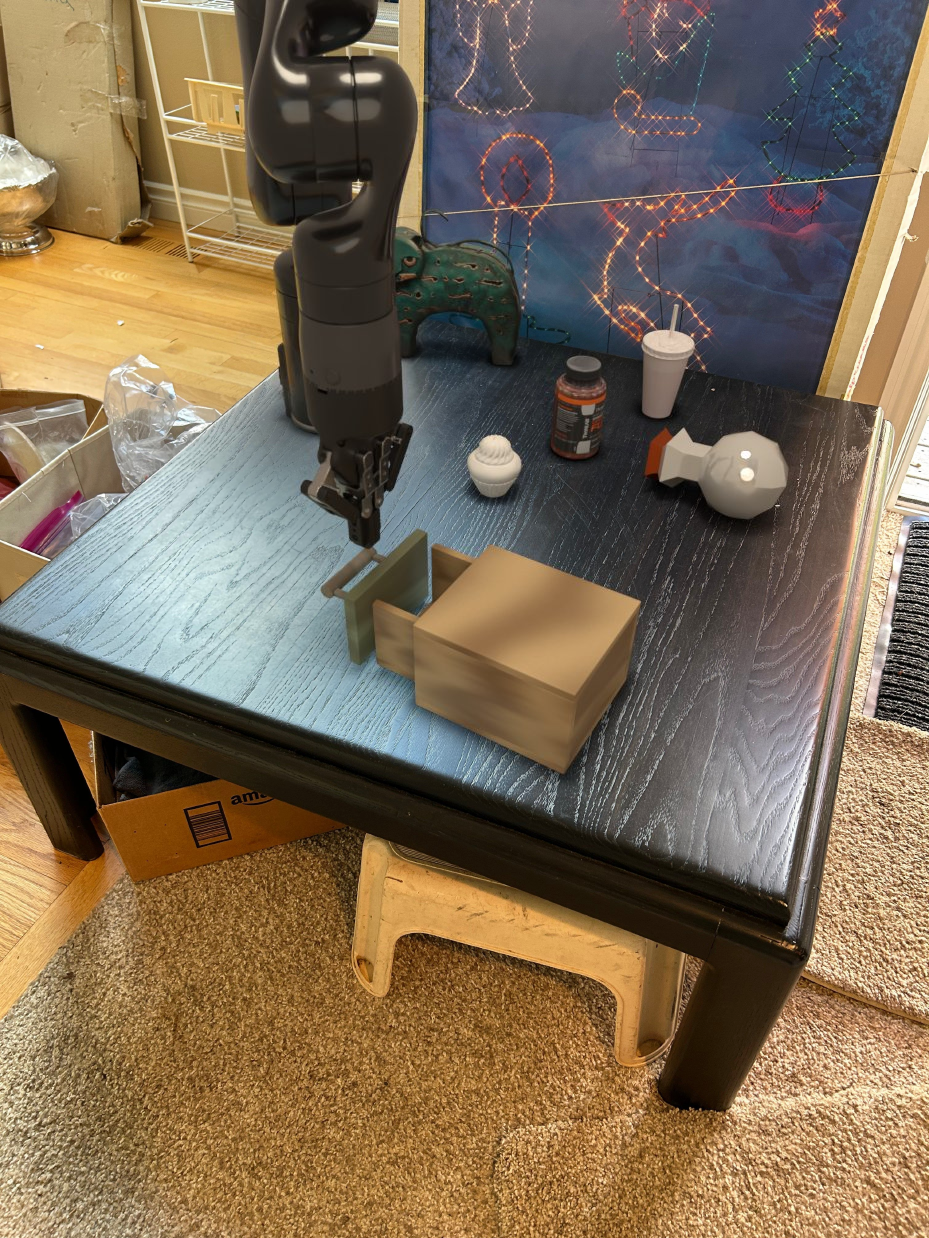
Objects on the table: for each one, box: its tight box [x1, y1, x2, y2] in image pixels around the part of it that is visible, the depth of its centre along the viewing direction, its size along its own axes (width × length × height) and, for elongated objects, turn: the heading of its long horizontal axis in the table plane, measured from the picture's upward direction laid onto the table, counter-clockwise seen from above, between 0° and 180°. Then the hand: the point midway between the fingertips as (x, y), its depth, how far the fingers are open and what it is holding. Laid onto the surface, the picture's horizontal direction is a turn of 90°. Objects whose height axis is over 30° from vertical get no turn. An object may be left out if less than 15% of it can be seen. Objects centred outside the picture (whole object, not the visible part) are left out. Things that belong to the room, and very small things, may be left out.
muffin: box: [466, 434, 522, 498], centre depth 101 cm, size 6×6×7 cm
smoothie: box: [641, 303, 695, 419], centre depth 113 cm, size 6×6×14 cm
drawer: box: [320, 528, 477, 683], centre depth 81 cm, size 18×11×8 cm, turn 59°
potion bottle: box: [644, 427, 790, 520], centre depth 100 cm, size 9×10×15 cm
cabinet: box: [413, 543, 642, 775], centre depth 77 cm, size 15×13×10 cm
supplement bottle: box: [550, 355, 608, 460], centre depth 107 cm, size 6×6×11 cm
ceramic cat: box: [395, 208, 522, 366], centre depth 122 cm, size 20×6×20 cm, turn 81°
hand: (365, 542), depth 80 cm, fingers closed
